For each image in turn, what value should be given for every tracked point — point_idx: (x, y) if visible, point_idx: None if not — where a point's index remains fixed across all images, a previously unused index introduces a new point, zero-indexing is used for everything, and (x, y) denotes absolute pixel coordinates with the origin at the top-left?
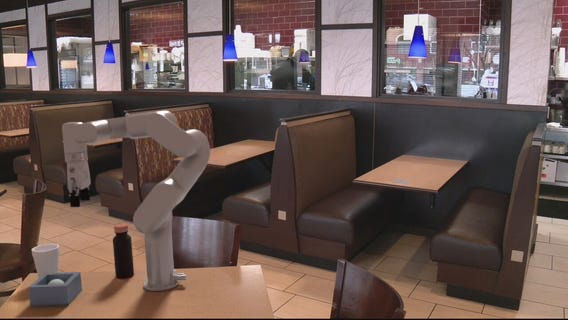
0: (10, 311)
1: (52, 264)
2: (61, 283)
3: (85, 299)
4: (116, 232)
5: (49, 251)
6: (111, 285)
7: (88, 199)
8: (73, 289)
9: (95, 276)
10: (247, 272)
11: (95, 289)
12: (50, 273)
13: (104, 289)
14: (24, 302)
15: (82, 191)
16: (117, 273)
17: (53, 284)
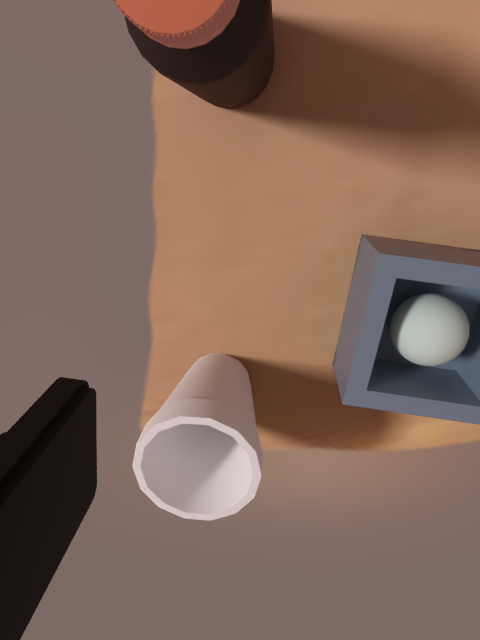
0: (474, 432)
1: (242, 397)
2: (453, 313)
3: (468, 199)
4: (231, 18)
5: (250, 442)
6: (339, 109)
7: (87, 397)
8: (464, 255)
9: (207, 210)
10: None
11: (366, 178)
12: (354, 381)
13: (380, 134)
14: None
15: (12, 613)
16: (260, 88)
17: (465, 342)
